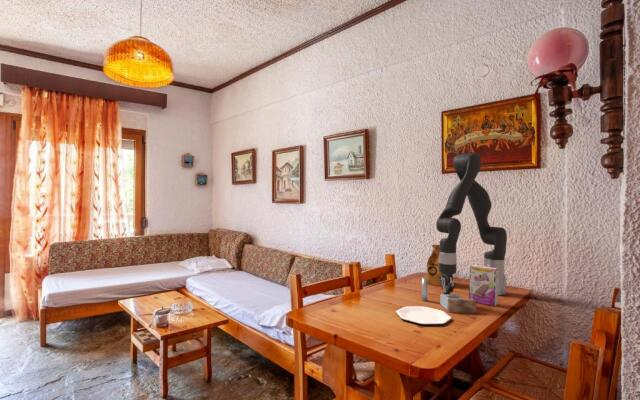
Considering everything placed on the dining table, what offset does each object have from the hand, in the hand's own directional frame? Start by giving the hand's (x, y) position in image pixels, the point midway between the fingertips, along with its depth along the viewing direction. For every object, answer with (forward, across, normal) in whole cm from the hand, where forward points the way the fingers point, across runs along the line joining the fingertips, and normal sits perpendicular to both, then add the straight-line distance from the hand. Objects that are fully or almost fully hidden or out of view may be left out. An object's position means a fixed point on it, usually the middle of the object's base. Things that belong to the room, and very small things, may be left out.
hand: (446, 300), depth 154 cm
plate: (+1, -18, +17) cm, 25 cm away
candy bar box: (+2, +1, -17) cm, 17 cm away
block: (+1, -7, 0) cm, 7 cm away
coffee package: (+2, +36, -9) cm, 37 cm away
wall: (+1, -12, -2) cm, 12 cm away
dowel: (+1, +4, +9) cm, 10 cm away
